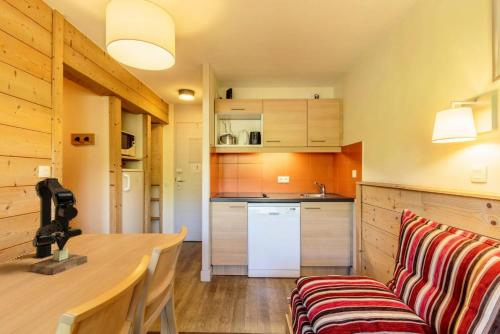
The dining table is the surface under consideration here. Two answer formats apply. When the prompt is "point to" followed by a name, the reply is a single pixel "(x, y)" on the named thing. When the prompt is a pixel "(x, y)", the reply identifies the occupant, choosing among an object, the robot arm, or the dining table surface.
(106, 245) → the dining table surface
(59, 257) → the peg
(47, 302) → the dining table surface
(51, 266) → the board
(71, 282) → the dining table surface
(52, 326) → the dining table surface
